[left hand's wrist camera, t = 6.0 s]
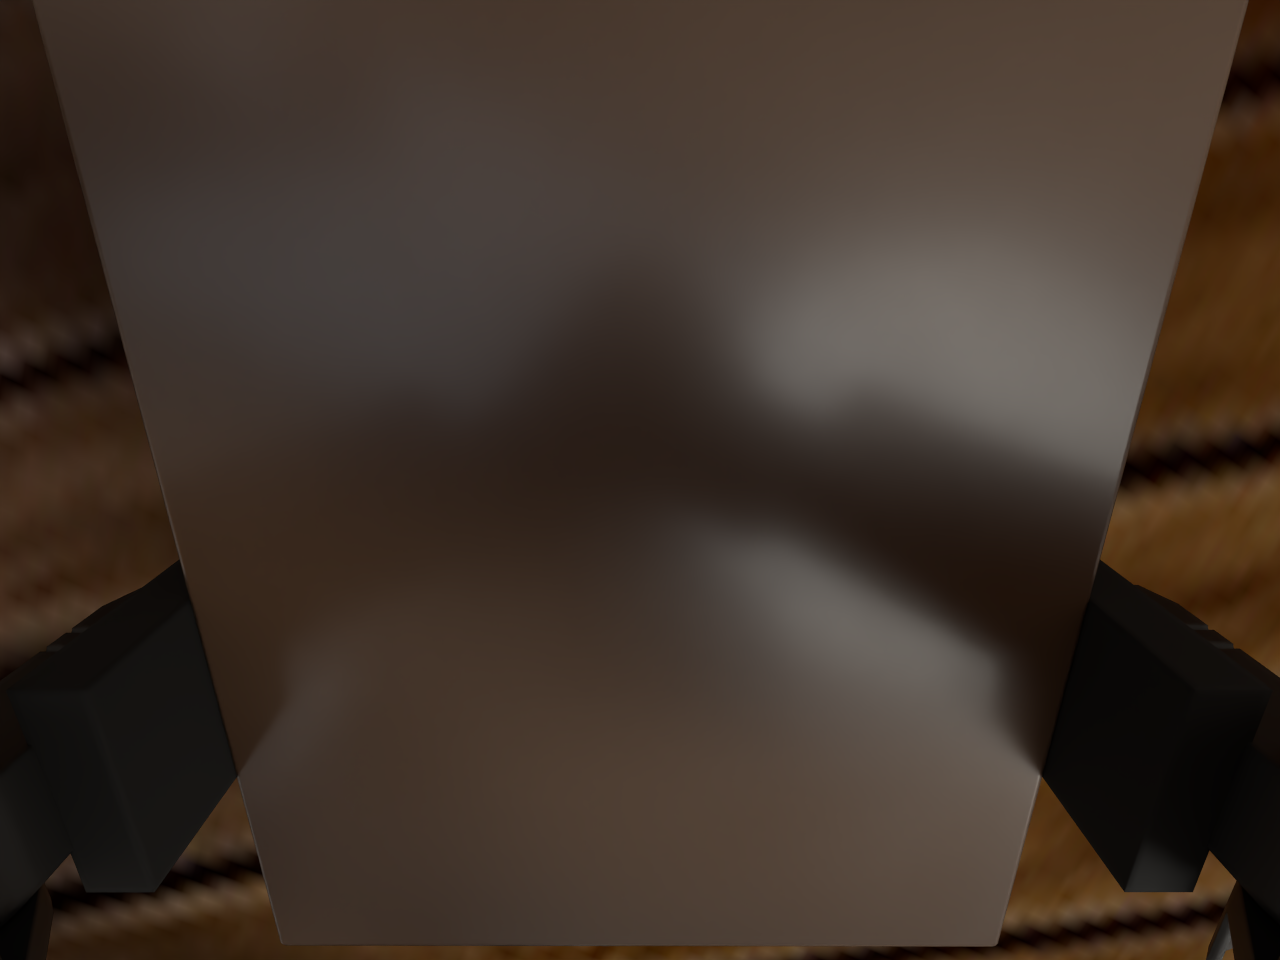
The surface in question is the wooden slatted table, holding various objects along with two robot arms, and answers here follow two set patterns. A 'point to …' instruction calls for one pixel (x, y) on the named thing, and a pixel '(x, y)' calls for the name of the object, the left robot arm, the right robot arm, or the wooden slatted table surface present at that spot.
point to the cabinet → (639, 431)
